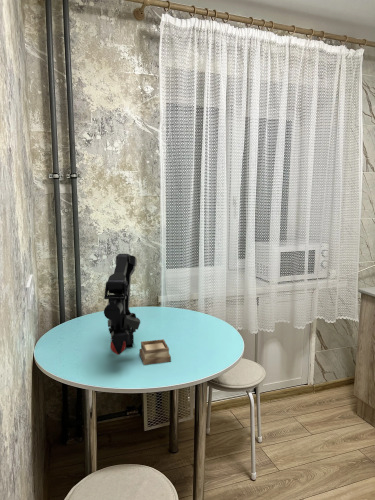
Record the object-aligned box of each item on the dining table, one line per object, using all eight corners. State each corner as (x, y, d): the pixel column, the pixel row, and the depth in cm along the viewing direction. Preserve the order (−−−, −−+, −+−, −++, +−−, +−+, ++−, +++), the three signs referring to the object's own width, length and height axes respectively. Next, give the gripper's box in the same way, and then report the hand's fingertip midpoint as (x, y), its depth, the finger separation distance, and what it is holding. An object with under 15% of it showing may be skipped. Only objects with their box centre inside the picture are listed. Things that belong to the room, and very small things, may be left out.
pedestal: (143, 364, 140) (143, 351, 140) (139, 353, 150) (139, 341, 150) (170, 361, 143) (170, 348, 143) (164, 350, 153) (164, 338, 152)
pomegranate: (119, 350, 147) (118, 330, 146) (129, 353, 144) (128, 334, 143) (107, 354, 143) (106, 334, 142) (117, 359, 139) (116, 338, 138)
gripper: (142, 317, 134) (143, 358, 137) (135, 302, 152) (135, 339, 154) (111, 319, 131) (112, 361, 133) (107, 304, 149) (108, 341, 151)
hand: (118, 350), depth 143 cm, fingers closed on pomegranate, 6 cm apart
